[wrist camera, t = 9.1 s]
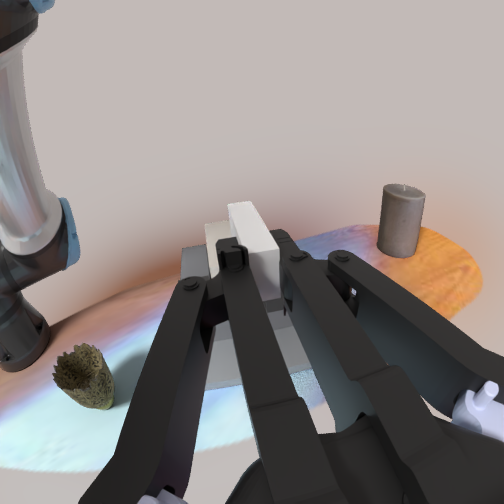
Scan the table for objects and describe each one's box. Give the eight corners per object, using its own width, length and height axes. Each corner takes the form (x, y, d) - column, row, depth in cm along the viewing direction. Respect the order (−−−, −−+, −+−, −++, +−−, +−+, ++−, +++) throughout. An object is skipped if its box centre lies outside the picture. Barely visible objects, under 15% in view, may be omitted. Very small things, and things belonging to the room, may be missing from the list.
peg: (261, 303, 38) (258, 259, 34) (218, 311, 37) (209, 267, 33) (244, 254, 50) (240, 218, 46) (211, 260, 49) (204, 224, 45)
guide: (320, 365, 33) (328, 305, 28) (190, 392, 31) (165, 337, 26) (274, 270, 54) (271, 220, 49) (186, 286, 52) (174, 236, 47)
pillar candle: (369, 247, 58) (375, 183, 51) (387, 233, 63) (394, 175, 56) (405, 263, 51) (418, 195, 44) (421, 247, 56) (432, 186, 49)
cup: (116, 372, 34) (93, 334, 30) (137, 407, 29) (110, 371, 25) (77, 394, 29) (48, 357, 26) (92, 432, 24) (57, 398, 21)
